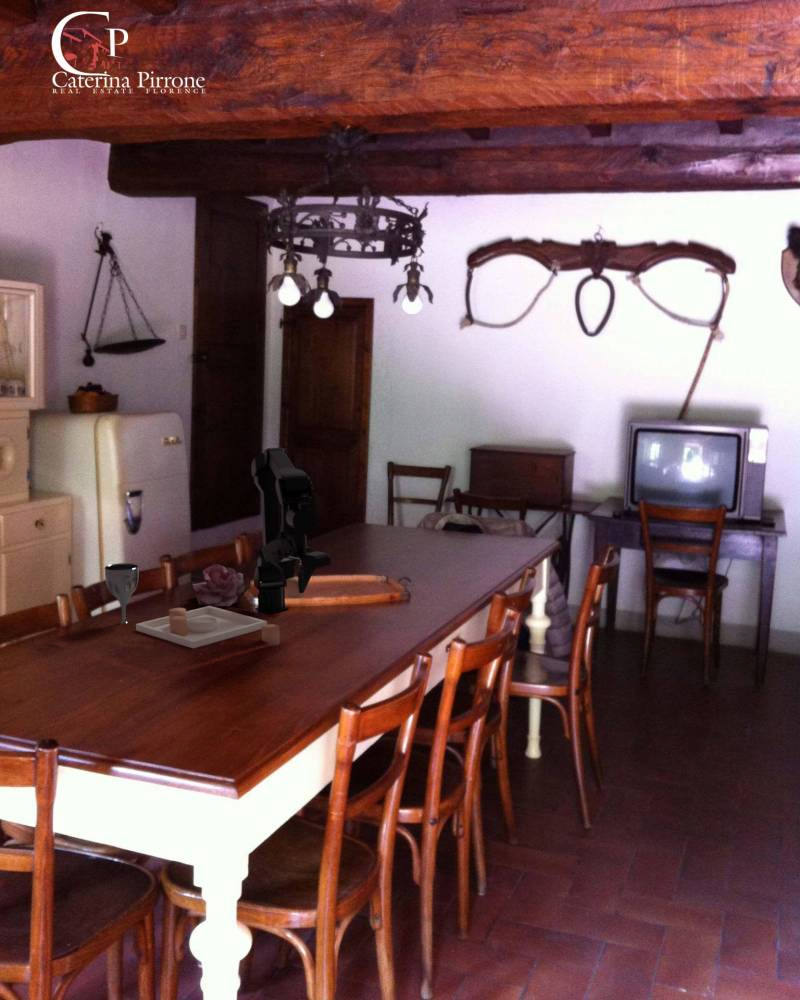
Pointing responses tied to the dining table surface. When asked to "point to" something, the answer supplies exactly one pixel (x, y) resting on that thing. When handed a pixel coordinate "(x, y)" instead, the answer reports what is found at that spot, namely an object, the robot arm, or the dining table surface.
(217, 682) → the dining table surface
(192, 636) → the groove dish
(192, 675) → the dining table surface
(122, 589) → the wine glass
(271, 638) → the pale tan cube
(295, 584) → the beige cube
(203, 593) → the flower
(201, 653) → the dining table surface
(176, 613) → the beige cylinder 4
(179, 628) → the seated bead
